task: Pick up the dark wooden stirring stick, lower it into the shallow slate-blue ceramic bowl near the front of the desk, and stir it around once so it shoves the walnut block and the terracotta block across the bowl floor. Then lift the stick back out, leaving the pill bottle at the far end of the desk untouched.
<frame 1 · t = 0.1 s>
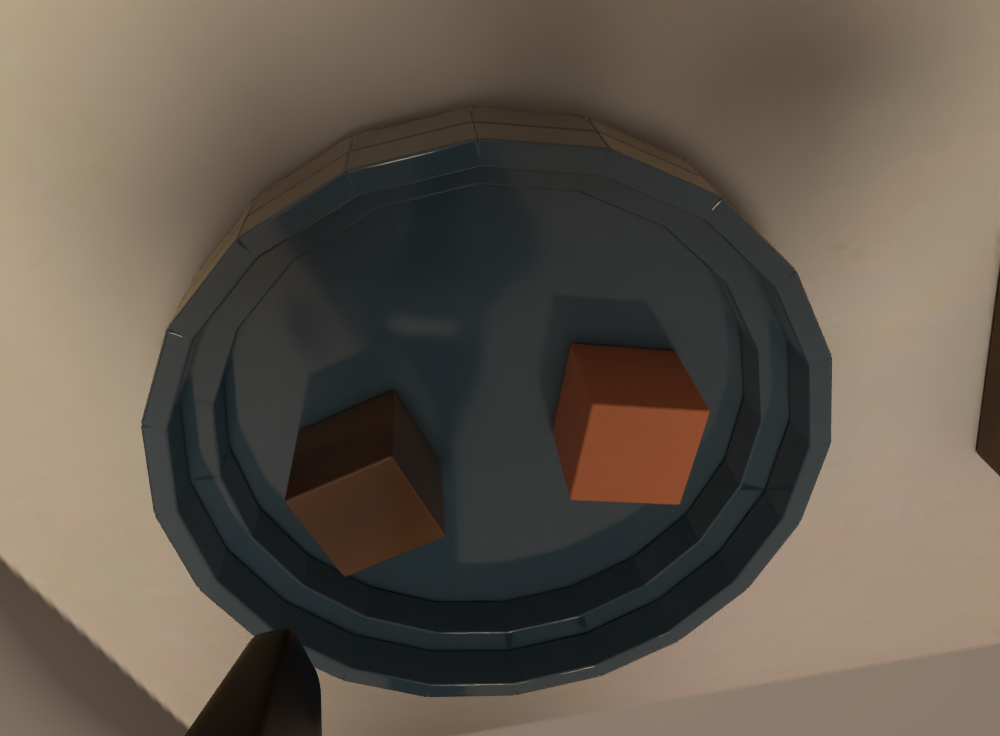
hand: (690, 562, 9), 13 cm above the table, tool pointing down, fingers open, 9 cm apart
block a: (371, 448, 23), point 1 cm above the table, touching bowl
block b: (612, 392, 23), point 1 cm above the table, touching bowl
bowl: (489, 408, 23), on the table
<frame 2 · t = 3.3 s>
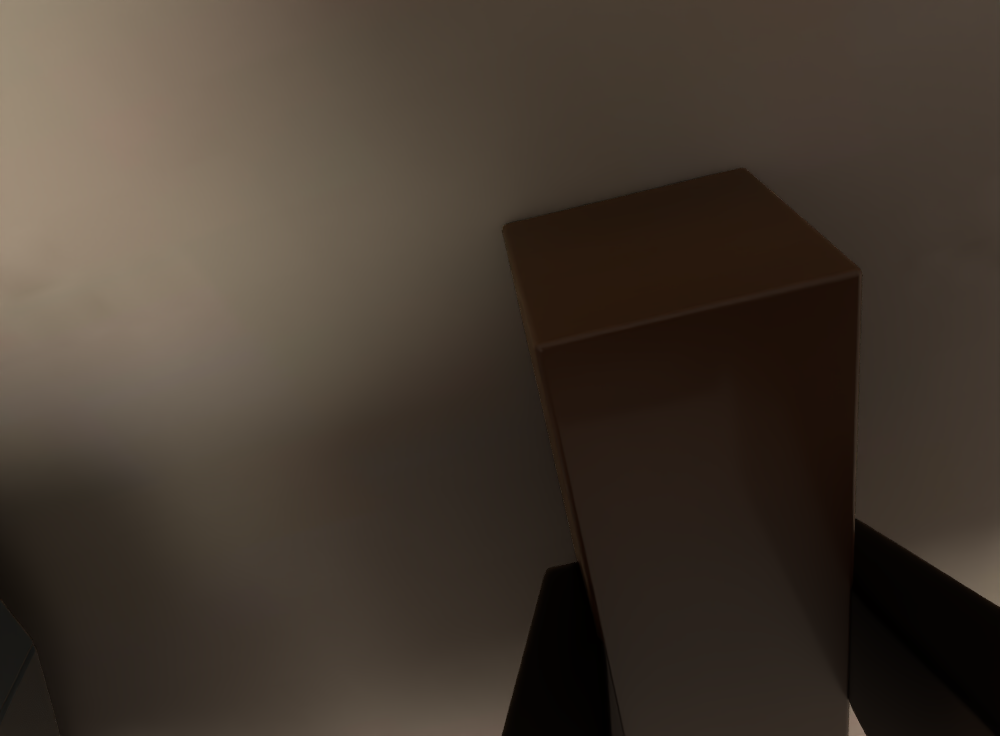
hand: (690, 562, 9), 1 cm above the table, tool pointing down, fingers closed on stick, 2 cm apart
stick: (664, 501, 10), on the table, touching gripper
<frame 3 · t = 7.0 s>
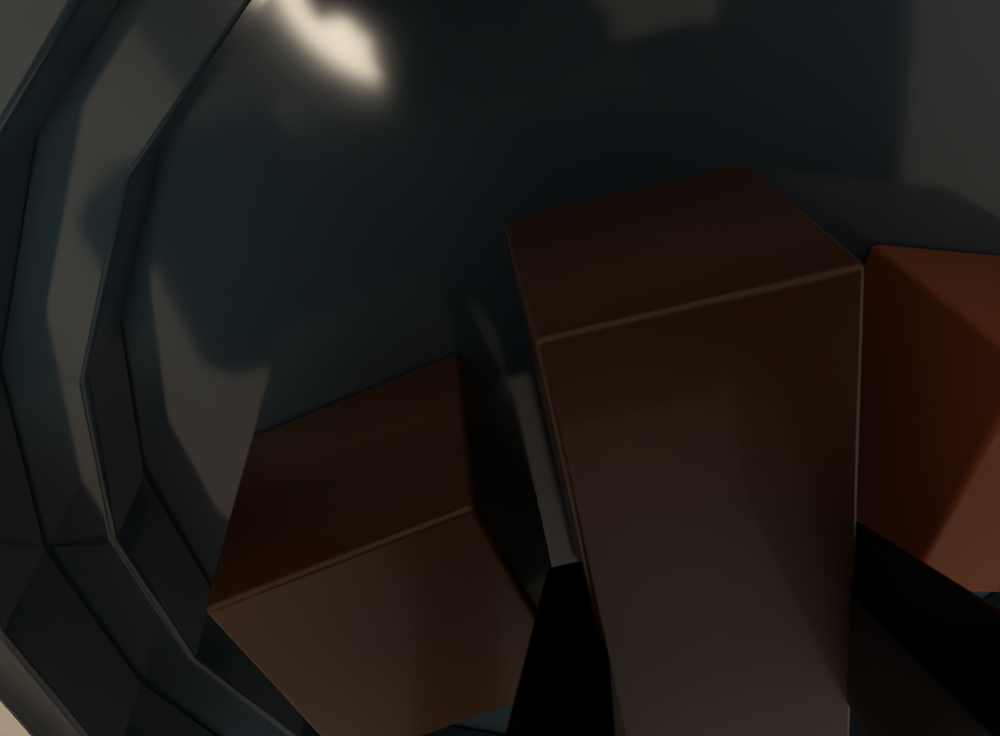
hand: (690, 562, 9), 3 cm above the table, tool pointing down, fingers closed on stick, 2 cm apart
block a: (402, 474, 11), point 1 cm above the table, touching bowl, gripper
block b: (930, 352, 11), point 1 cm above the table, touching bowl
stick: (664, 499, 10), point 2 cm above the table, touching gripper
bowl: (669, 389, 12), on the table
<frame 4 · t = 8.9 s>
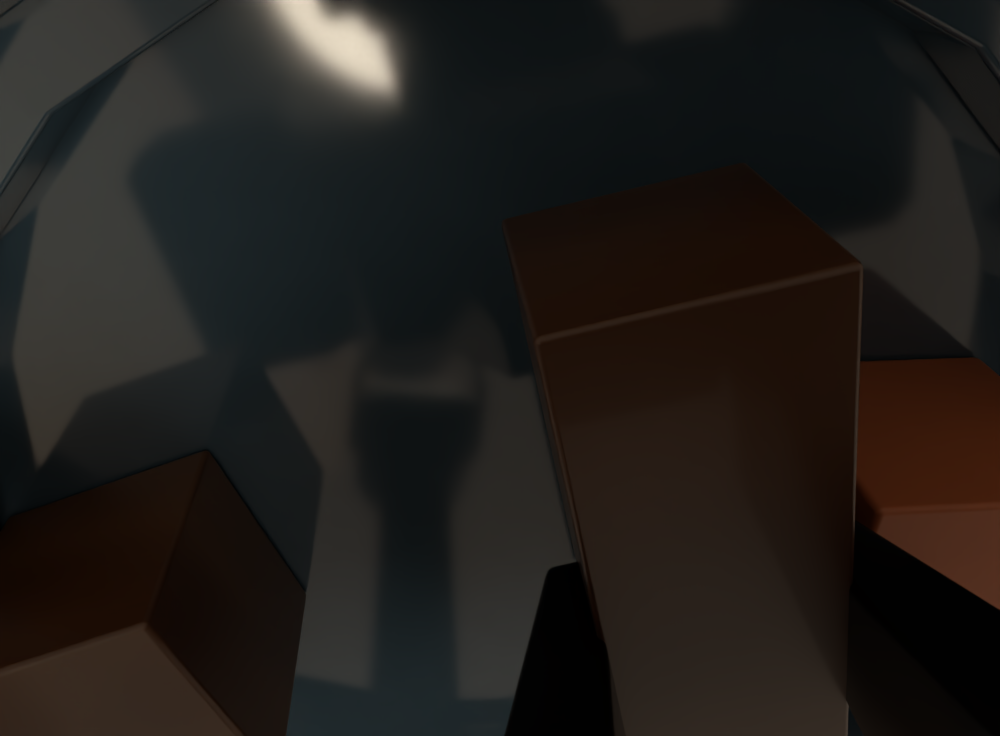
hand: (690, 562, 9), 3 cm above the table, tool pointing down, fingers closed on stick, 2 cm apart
block a: (166, 556, 12), point 1 cm above the table, touching bowl
block b: (848, 447, 12), point 1 cm above the table, touching bowl, gripper
stick: (663, 498, 10), point 2 cm above the table, touching gripper
bowl: (524, 462, 12), on the table
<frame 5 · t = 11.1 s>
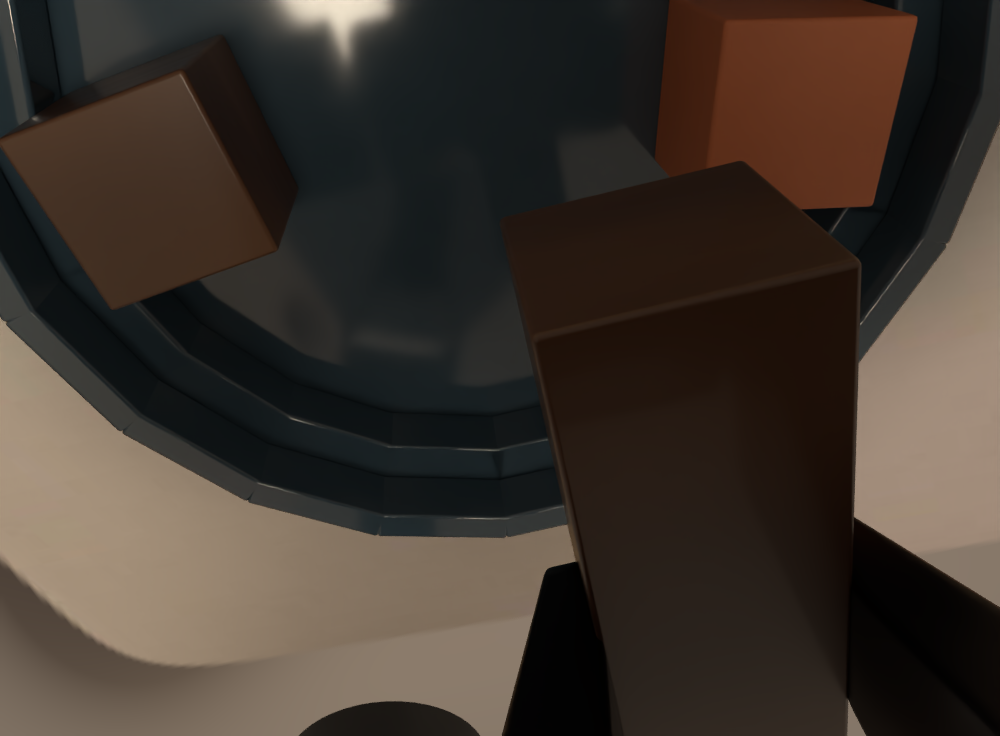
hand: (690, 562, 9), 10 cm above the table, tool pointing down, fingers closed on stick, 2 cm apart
block a: (188, 143, 15), point 1 cm above the table, touching bowl
block b: (738, 79, 15), point 1 cm above the table, touching bowl
stick: (662, 497, 10), point 9 cm above the table, touching gripper
bowl: (470, 83, 15), on the table
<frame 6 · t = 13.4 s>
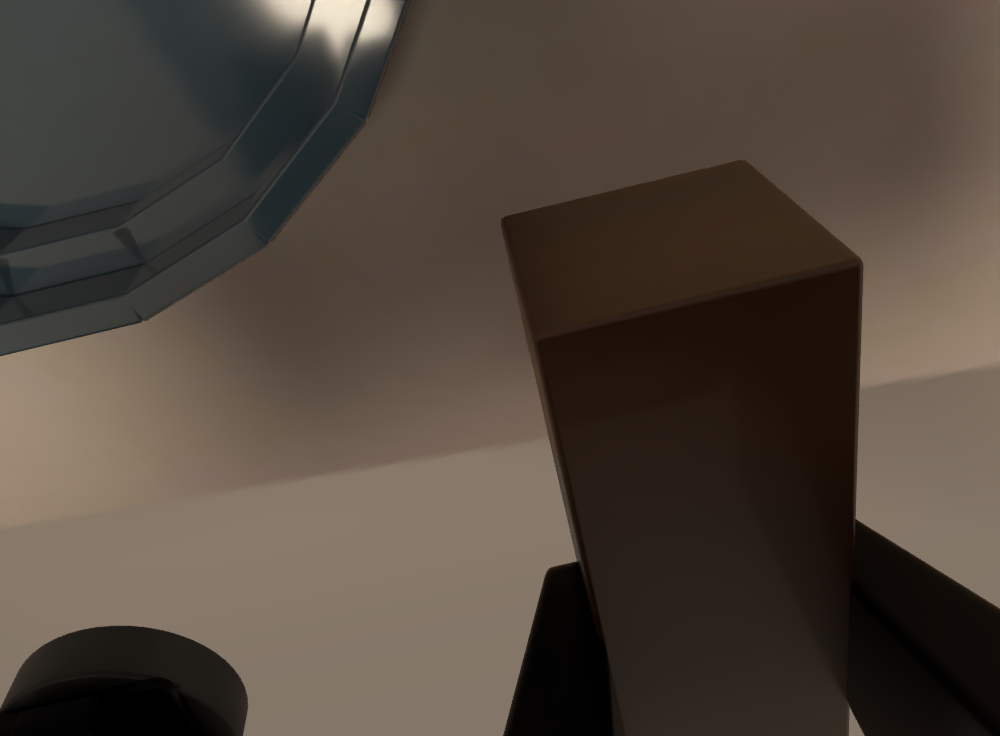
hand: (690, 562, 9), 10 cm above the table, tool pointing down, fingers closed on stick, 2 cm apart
stick: (664, 497, 10), point 9 cm above the table, touching gripper
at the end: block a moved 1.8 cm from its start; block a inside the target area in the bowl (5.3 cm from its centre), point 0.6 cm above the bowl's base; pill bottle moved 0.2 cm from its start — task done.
